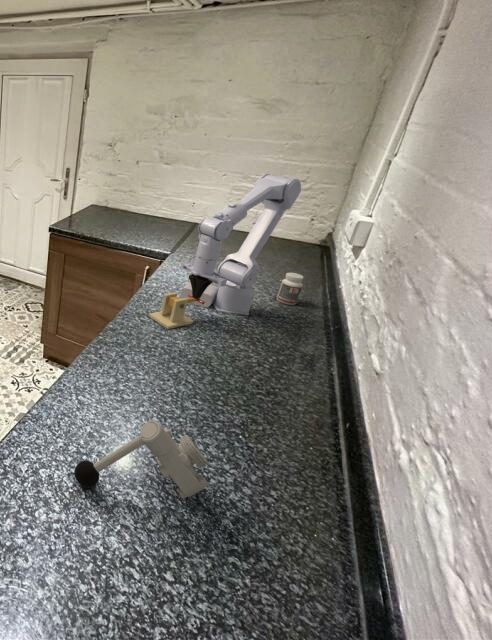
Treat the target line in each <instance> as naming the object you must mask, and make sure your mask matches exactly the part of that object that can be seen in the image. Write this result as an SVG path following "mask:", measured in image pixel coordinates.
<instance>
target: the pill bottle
mask: <svg viewBox="0 0 492 640" xmlns="http://www.w3.org/2000/svg"><path fill="white" fill-rule="evenodd" d="M304 277H305V276H303V275H302V274H300V273H297V272H286V274H285V278H283V279H282V281H281V283H280V285H279V289H278V292H277V294H276V300H277V301H278V302H279V303H281V304H285V305H288V306H289V305H290V306H295V305H296V304H297V302H298V300H299V298H300V294H301V292H302V290H303V289H302V288H303V283H302V282H303V280H304Z"/></svg>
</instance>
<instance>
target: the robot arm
mask: <svg viewBox="0 0 492 640" xmlns="http://www.w3.org/2000/svg"><path fill="white" fill-rule="evenodd" d="M301 192H302V184H301V180H300V179H298V178H291V177H285V176H279V175H274V174H270V173H264V174H262V175H261V176H260V177H259V178H258V179H257V180H256V181H255V184H254V187H253V188H252V189H251V190H250V191H249V192H248V193H247V194H245V195H244V196H243V197H242V198H240V200H239V201H232V202H230V203H228V204H227V205H226V206H225V207H224V208H222V209H221V210H219V211H218V212H217V213H215V214H213V216H207V217H204V218H203V219H202V220H201V221H200V223H199V224H198V225H197V232H198V237H197V238H198V240H199V242H198V246H197V250H196V253H195V254H196V255H195V258H194V262H193V263H191V262H189V261H181V264H180V269H183V270H184V269H185V270H187V271H189V272H190V274H189V275H188V279H189V282H191V286H192V297H193V298H195V299H198V298H201V296H202V294H203V293H204V291H205V290H206V288H207V287H208V286H209V285H210V284H213V283H214V284H216V285H217V286H218V293H217V296H216V299H215V301H214V302H213V303H212V304H211V305H212V306H213V307H214V309H215V310H216V311H217V312H221V313H229V314H235V315H242V316H243V315H245V316H250V313H249V312H250V310H251V306H252V303H253V300H254V296H255V290H254V287H253V285H254V284H255V283H256V281H257V278H258V274H259V272H260V270H261V267H260V265H259V264H258V262H257V260H256V259H257V257H258V255H259V254H260V253H261V251H262V249H263V248H264V246H265V245H266V243H267V242H268V240H269V238H270V237H271V235H272V234H273V232H274V230H275V229H276V227H277V225H278V224H279V222H280V221H281V219H282V217H283V216H284V215H285V212H286V211H287V210H290V209H291V208H292V206H293V205H294V204H295V202H296V201H297V199H298V197H299V195H300V194H301ZM260 203H262V204H263V206H264V208H263V210H262V212H261V213H260V215H259V217H258V219H257V220H256V221H255V223H254V225H253V227H252V228H251V230H250V231H249V233H248V234H247V236H246V238H245V239H244V241H243V243H242V244H241V245H240V247H239V249H238V251H237V252H234V253H230V254H226V255H227V256H226V257H225V258H224V260H222V261H221V262H220V263H219V264H218V266H217V263H218V259H219V256H220V252H221V248H222V244H223V240H226V239H227V238H228V237H229V235H230V233H231V231H233V229H234V227H235V226H236V225H237V224H239V223H240V222H241V221H243V220H244V219H245V218H246V217H247V215H248V211H249V210H251V209H252V208H254V207H256V206H257V205H259V204H260ZM216 266H217V269H216ZM215 270H216V272H215Z"/></svg>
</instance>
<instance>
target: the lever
mask: <svg viewBox="0 0 492 640" xmlns="http://www.w3.org/2000/svg"><path fill="white" fill-rule="evenodd" d="M188 297H190V298H187V299H188V301H187V303H191V302H194V301H197V302H199V303H201V304H204V303H205V302H204V301H202V300H200V299H195V298H193V297H192V295H191V294H188ZM177 299H180V297H178V295H177V296H175V297H169V301H168V305H170V306H171V307H173V304H174V300H177Z"/></svg>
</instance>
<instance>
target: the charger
mask: <svg viewBox="0 0 492 640" xmlns="http://www.w3.org/2000/svg"><path fill="white" fill-rule="evenodd" d="M218 289H219V287H217V286H215V285H213V283H211V284H210V285H209V286H208V287H207V288H206V290H205V291H204V293H203V294H202V296H201V298H198V299H200V300H202V301H204V302H205V303H204V304H201V303H199V302H197V301H194V302H190V303H191V304H195V305H196V306H197V305H198V306H201V307H204V308H209V307H211V305H213V304H212V303H213V302H214V301H215V300H216V296H217V293H218ZM188 294H191V295H192V286H191V282H190V281H189V282H188V283H187V284H186V285H185V286H183V287H182V288H181V290H180V295H179V298H180V299H182V298H190V297H188Z"/></svg>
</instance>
